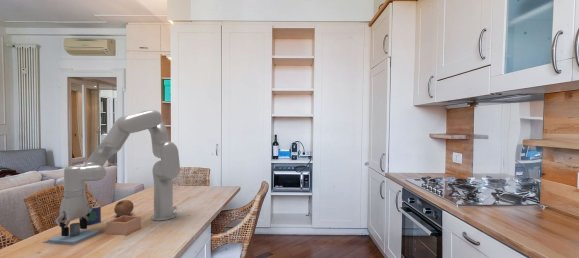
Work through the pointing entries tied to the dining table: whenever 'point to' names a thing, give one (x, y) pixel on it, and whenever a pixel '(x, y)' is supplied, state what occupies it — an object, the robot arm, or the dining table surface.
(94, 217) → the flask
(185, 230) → the dining table surface
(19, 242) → the dining table surface
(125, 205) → the coconut
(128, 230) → the open cube shelf
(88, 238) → the mat
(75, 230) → the lid
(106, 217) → the dining table surface
